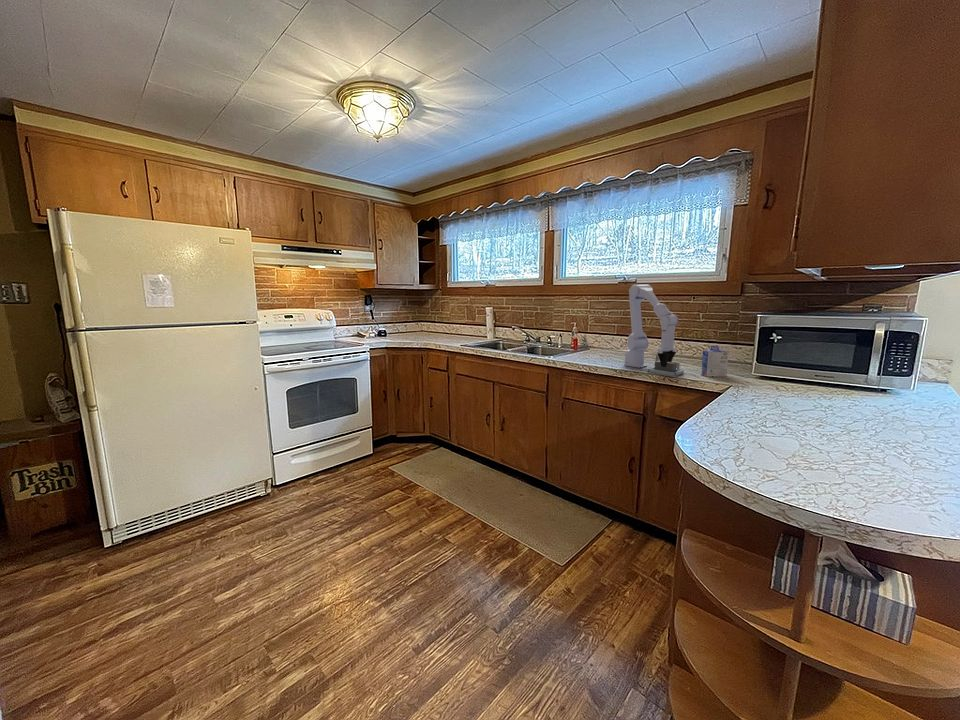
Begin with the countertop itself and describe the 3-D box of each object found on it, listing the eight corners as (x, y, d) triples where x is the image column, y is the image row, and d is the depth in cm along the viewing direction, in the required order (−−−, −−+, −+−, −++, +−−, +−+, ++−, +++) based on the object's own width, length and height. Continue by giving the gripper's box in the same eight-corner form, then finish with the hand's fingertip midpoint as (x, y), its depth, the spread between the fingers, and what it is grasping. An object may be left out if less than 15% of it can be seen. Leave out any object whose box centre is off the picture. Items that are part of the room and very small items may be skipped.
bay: (654, 368, 206) (655, 355, 205) (662, 366, 211) (663, 353, 210) (672, 371, 199) (673, 357, 198) (679, 369, 204) (680, 355, 203)
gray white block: (654, 371, 197) (654, 361, 196) (658, 370, 199) (658, 360, 198) (672, 374, 190) (672, 363, 189) (675, 372, 192) (676, 362, 192)
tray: (647, 372, 197) (647, 368, 197) (655, 369, 203) (656, 366, 202) (675, 376, 186) (675, 372, 186) (683, 374, 192) (683, 370, 192)
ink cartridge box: (720, 374, 191) (723, 345, 188) (727, 376, 185) (730, 346, 183) (700, 374, 191) (702, 345, 188) (706, 377, 185) (709, 346, 183)
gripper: (668, 341, 184) (666, 369, 186) (682, 338, 193) (680, 365, 195) (654, 339, 190) (652, 367, 192) (668, 337, 198) (666, 363, 201)
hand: (665, 366), depth 194 cm, fingers closed on gray white block, 4 cm apart
